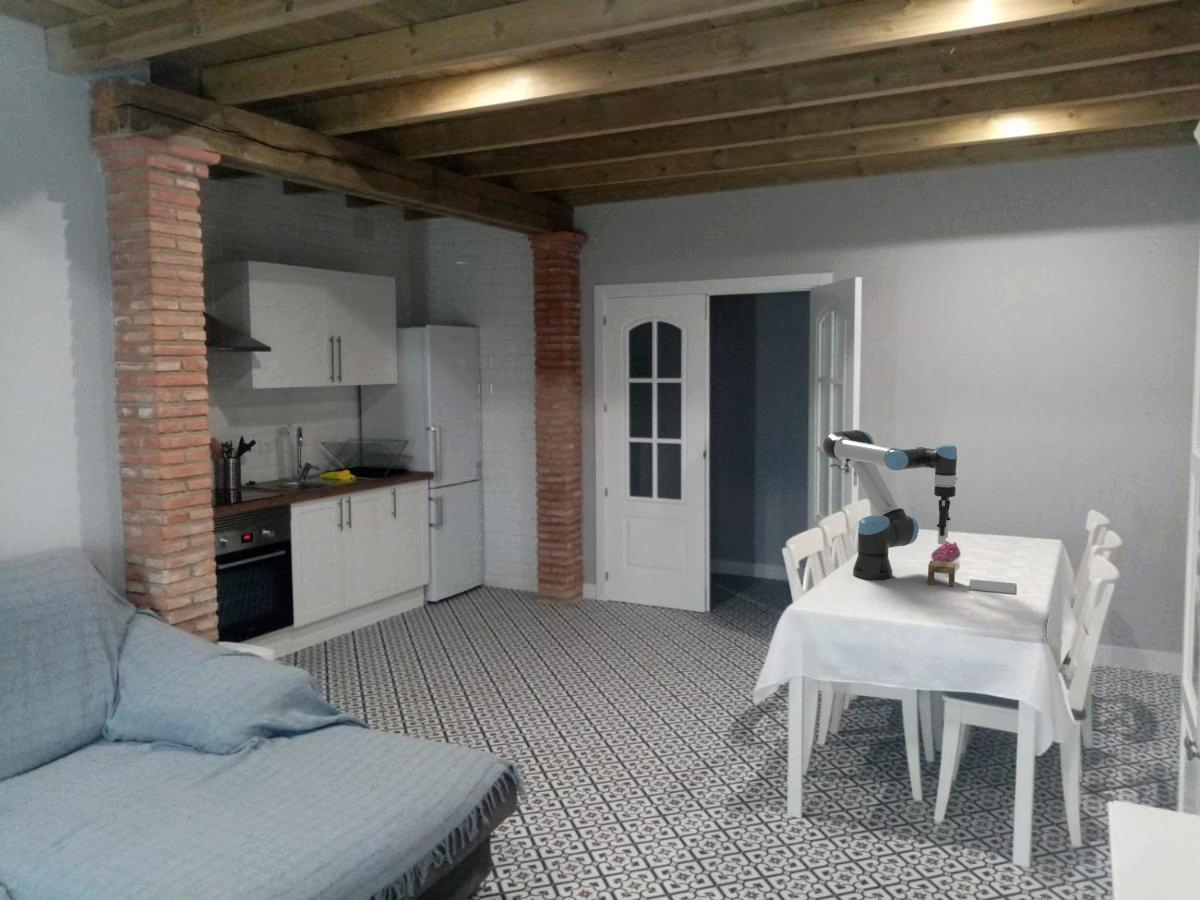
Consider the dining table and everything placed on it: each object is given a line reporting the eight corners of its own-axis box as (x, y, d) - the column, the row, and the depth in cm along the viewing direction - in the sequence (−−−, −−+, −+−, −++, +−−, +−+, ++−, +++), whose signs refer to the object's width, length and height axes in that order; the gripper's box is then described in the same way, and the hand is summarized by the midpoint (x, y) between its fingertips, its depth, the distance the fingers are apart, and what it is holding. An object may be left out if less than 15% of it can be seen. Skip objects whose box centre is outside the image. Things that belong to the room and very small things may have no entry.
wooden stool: (927, 584, 350) (928, 565, 349) (929, 579, 358) (930, 560, 357) (952, 587, 346) (953, 567, 345) (954, 581, 354) (955, 562, 353)
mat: (968, 590, 341) (968, 588, 341) (970, 580, 356) (970, 579, 356) (1015, 594, 335) (1015, 593, 335) (1015, 584, 349) (1015, 583, 349)
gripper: (953, 490, 335) (951, 547, 337) (957, 481, 358) (955, 535, 360) (932, 489, 338) (930, 546, 340) (936, 480, 361) (934, 533, 363)
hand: (942, 540), depth 350 cm, fingers open, 13 cm apart
